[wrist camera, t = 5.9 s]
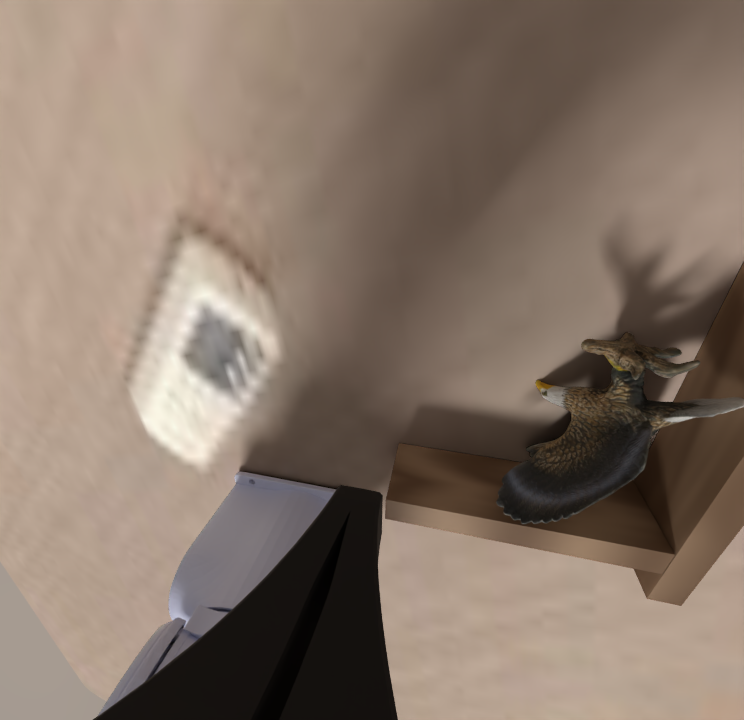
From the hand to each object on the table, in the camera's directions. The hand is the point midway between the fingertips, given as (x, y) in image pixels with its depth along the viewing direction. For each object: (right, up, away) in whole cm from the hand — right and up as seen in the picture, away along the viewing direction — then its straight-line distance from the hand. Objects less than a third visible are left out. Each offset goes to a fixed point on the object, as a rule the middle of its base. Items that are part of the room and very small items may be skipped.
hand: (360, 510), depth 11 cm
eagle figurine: (+11, +3, +7) cm, 14 cm away
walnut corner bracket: (+9, +2, +8) cm, 12 cm away
